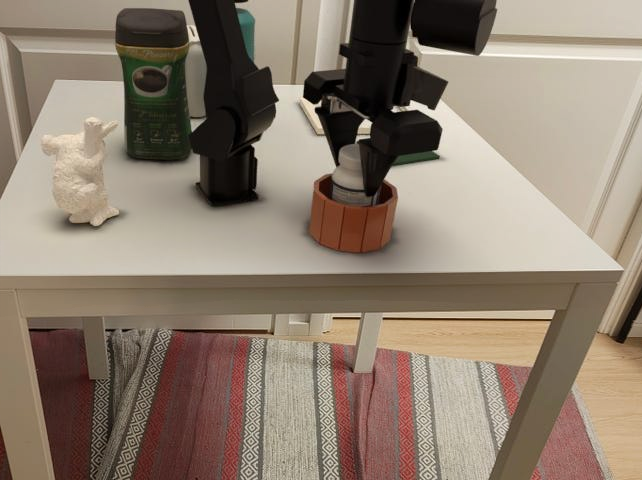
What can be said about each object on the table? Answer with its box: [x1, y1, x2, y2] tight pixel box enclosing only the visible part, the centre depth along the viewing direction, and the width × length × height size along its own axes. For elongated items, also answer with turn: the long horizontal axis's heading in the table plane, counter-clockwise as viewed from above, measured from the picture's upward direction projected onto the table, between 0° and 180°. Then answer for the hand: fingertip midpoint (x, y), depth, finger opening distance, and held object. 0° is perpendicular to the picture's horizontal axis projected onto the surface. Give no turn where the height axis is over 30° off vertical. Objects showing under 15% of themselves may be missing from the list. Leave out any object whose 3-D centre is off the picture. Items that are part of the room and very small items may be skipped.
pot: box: [308, 172, 399, 254], centre depth 77 cm, size 10×10×6 cm
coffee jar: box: [114, 7, 193, 160], centre depth 89 cm, size 10×8×19 cm
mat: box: [356, 140, 441, 167], centre depth 99 cm, size 9×9×1 cm
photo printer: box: [185, 24, 207, 118], centre depth 106 cm, size 10×4×12 cm, turn 13°
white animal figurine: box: [40, 116, 120, 227], centre depth 75 cm, size 8×7×12 cm
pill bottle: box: [329, 143, 381, 207], centre depth 75 cm, size 6×6×10 cm
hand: (356, 185), depth 75 cm, fingers closed on pill bottle, 6 cm apart
